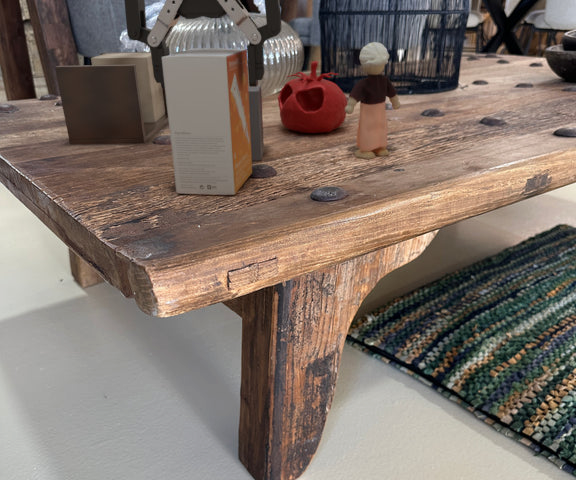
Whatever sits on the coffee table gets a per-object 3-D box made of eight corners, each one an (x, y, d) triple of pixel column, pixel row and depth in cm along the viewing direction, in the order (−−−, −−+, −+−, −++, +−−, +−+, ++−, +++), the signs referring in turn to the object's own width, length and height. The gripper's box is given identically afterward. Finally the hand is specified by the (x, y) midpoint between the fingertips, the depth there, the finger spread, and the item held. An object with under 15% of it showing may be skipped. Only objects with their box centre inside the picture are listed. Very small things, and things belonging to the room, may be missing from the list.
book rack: (70, 148, 76) (54, 66, 71) (113, 121, 92) (102, 52, 87) (144, 147, 75) (133, 65, 70) (174, 120, 91) (167, 51, 86)
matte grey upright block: (195, 161, 69) (188, 91, 65) (200, 152, 72) (194, 86, 68) (261, 160, 68) (258, 90, 64) (263, 152, 72) (261, 85, 68)
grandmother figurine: (377, 147, 73) (383, 39, 67) (401, 152, 70) (409, 40, 64) (335, 158, 68) (337, 43, 63) (359, 164, 66) (363, 45, 60)
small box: (236, 196, 56) (227, 55, 50) (175, 194, 57) (158, 55, 51) (254, 173, 63) (248, 47, 57) (199, 172, 64) (187, 47, 58)
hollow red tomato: (310, 119, 89) (310, 55, 85) (360, 128, 83) (363, 59, 78) (263, 130, 83) (261, 62, 79) (313, 140, 77) (313, 66, 72)
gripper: (279, -110, 51) (284, 80, 59) (123, -104, 52) (148, 83, 60) (273, -125, 45) (280, 91, 52) (96, -118, 45) (127, 94, 53)
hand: (210, 86), depth 56 cm, fingers open, 8 cm apart
